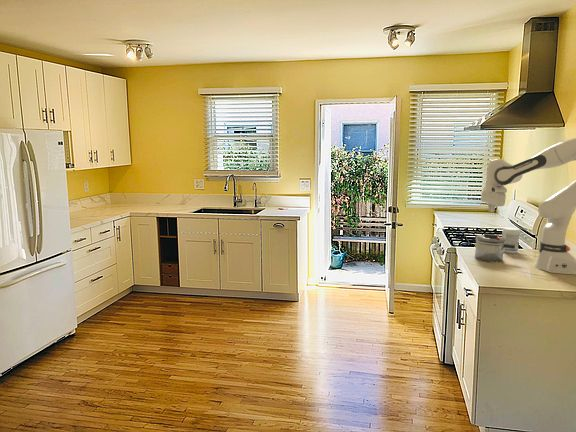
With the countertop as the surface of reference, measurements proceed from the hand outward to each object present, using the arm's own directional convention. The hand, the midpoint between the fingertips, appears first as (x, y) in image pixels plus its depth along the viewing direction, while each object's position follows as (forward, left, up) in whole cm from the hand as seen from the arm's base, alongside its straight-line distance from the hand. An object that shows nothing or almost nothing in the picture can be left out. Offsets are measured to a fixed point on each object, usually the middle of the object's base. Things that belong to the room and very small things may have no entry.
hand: (491, 211), depth 265 cm
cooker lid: (-1, -3, -17) cm, 17 cm away
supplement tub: (-12, -27, -28) cm, 41 cm away
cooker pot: (-4, -2, -28) cm, 29 cm away
